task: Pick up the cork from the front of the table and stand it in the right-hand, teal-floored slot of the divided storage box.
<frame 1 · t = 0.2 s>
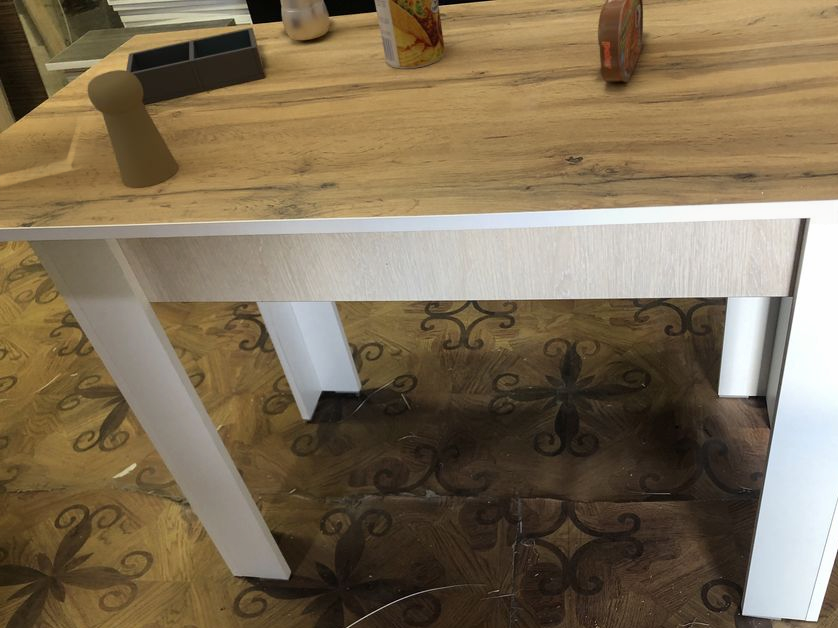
plastic bottle: (310, 38, 113), on the table
canned food: (415, 58, 102), on the table
cork: (151, 175, 85), on the table
divided storage box: (201, 80, 105), on the table
tin: (621, 69, 91), on the table
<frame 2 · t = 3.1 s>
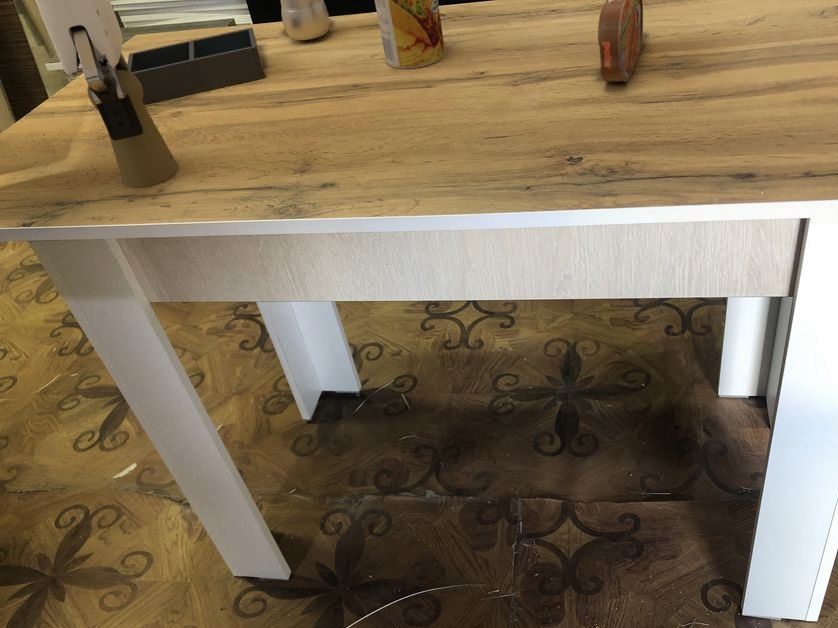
hand: (129, 123, 81), 6 cm above the table, tool pointing down, fingers closed on cork, 5 cm apart
cork: (151, 175, 85), on the table, touching gripper
everything else where it was.
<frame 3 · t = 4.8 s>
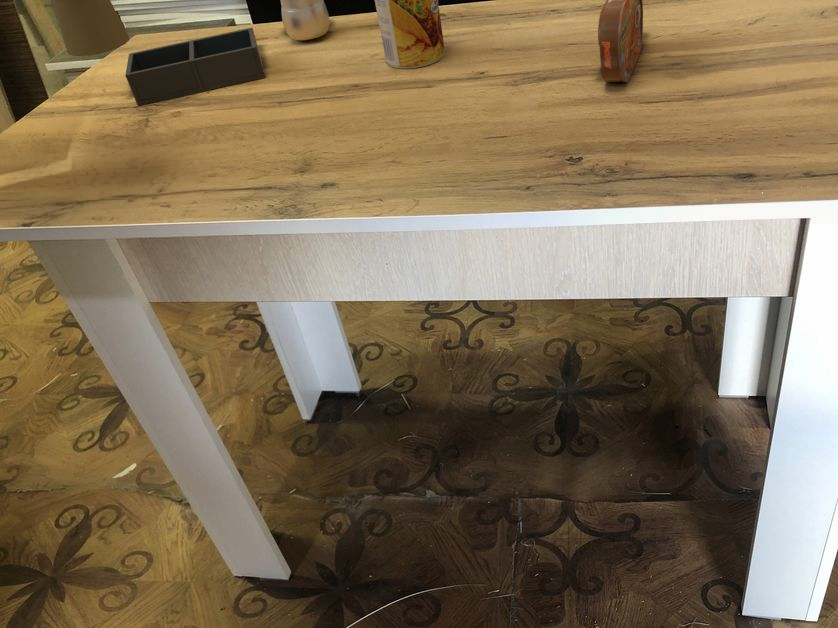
cork: (99, 46, 77), point 13 cm above the table, touching gripper
everything else where it was.
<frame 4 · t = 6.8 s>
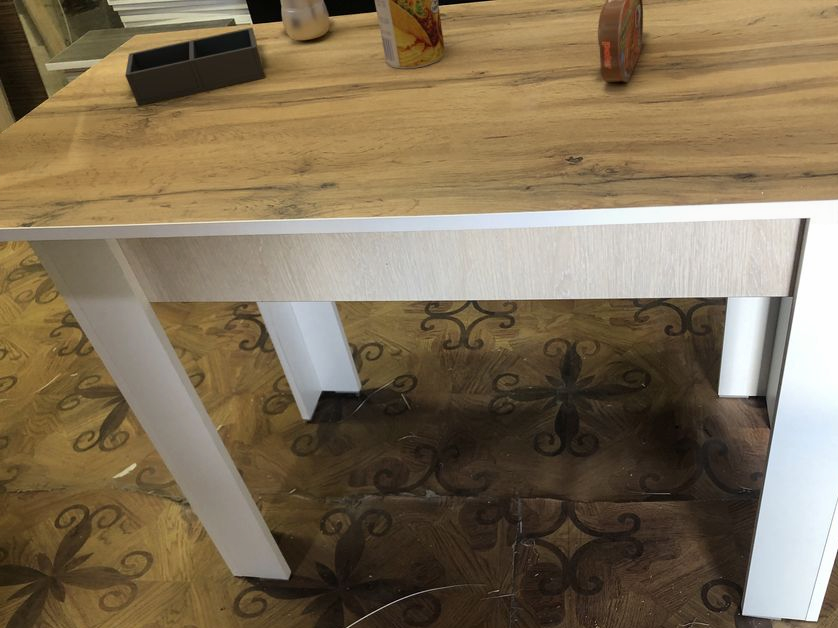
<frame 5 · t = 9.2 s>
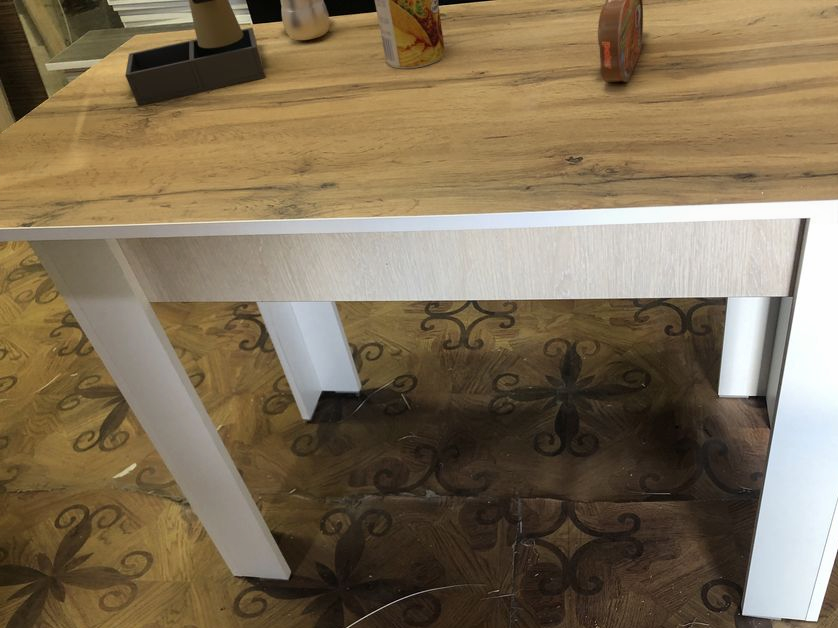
cork: (221, 41, 103), point 4 cm above the table, touching gripper
everything else where it was.
when the fingers open (7 cm above the table, at t = 10.6 s): cork stays where it is, resting on divided storage box.
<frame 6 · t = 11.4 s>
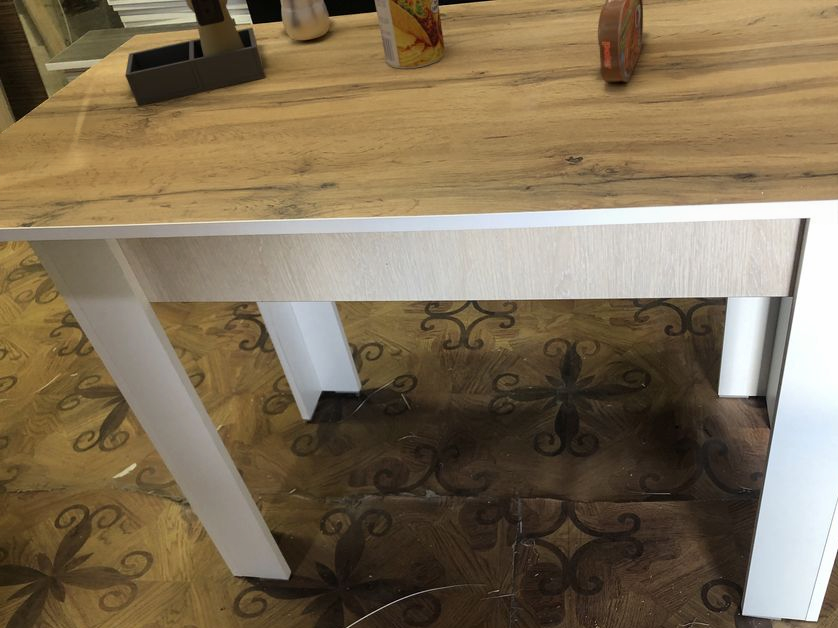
hand: (211, 12, 100), 8 cm above the table, tool pointing down, fingers open, 9 cm apart
cork: (229, 69, 105), point 1 cm above the table, touching divided storage box
everything else where it was.
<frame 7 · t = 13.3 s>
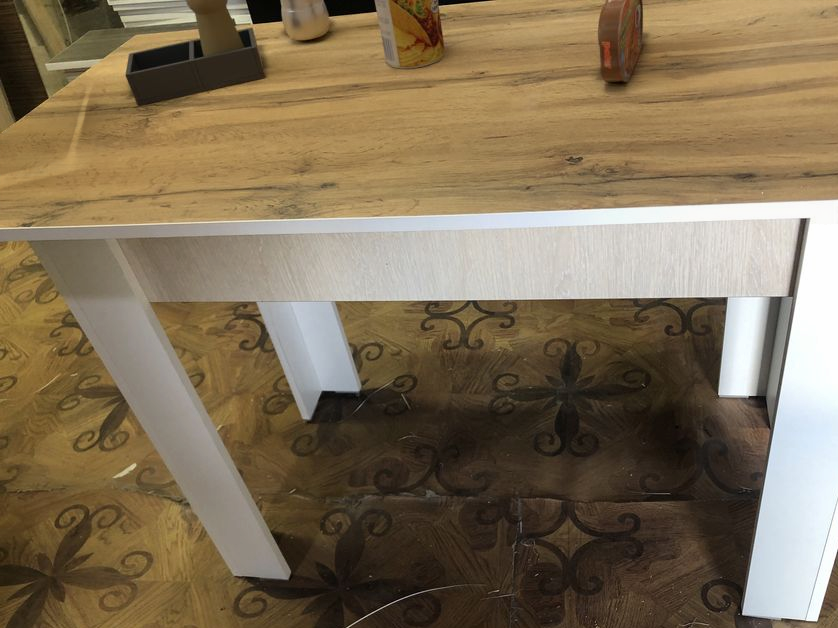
nothing on the table moved.
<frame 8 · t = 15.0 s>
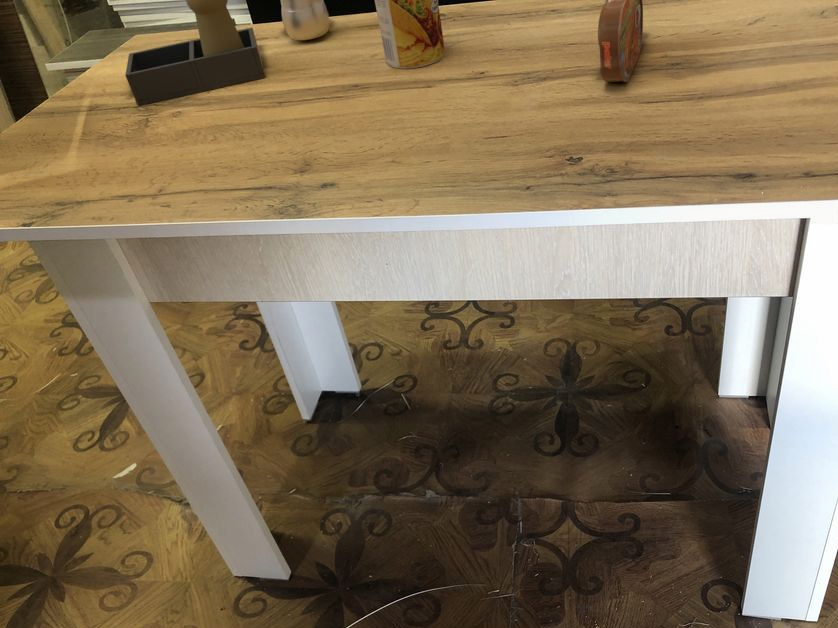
nothing on the table moved.
at the end: cork 0.0 cm from the target spot in the divided storage box, point 0.6 cm above the divided storage box's base; cork tilted 0° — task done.
